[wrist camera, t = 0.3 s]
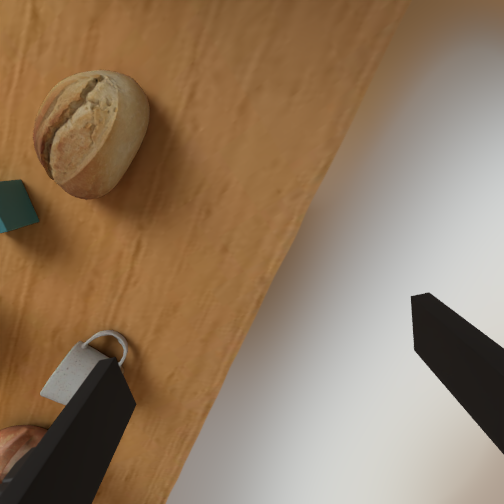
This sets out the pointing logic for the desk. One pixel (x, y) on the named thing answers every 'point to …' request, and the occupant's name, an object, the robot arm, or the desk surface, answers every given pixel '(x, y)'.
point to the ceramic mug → (77, 368)
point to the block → (15, 206)
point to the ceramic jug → (17, 444)
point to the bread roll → (91, 131)
